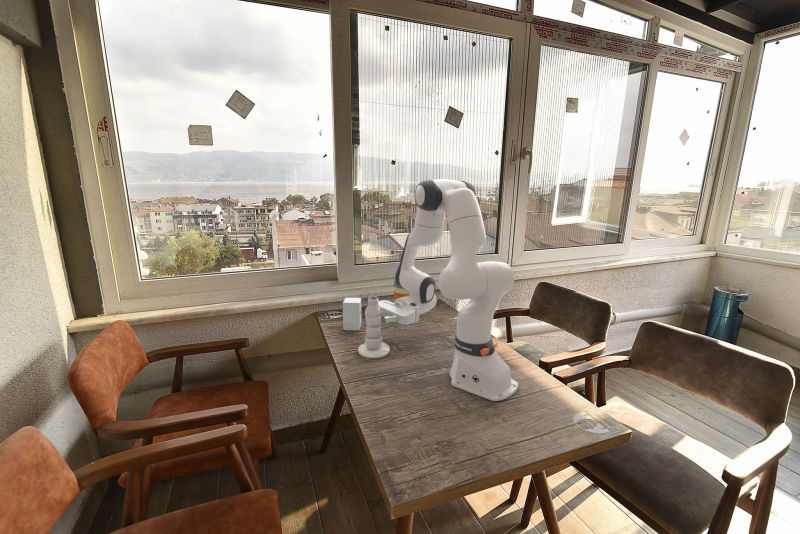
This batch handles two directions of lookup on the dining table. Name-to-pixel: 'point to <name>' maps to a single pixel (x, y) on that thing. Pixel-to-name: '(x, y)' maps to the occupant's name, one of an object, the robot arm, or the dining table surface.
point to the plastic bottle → (373, 324)
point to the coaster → (374, 351)
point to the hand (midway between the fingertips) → (377, 316)
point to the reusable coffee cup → (400, 291)
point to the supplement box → (352, 314)
